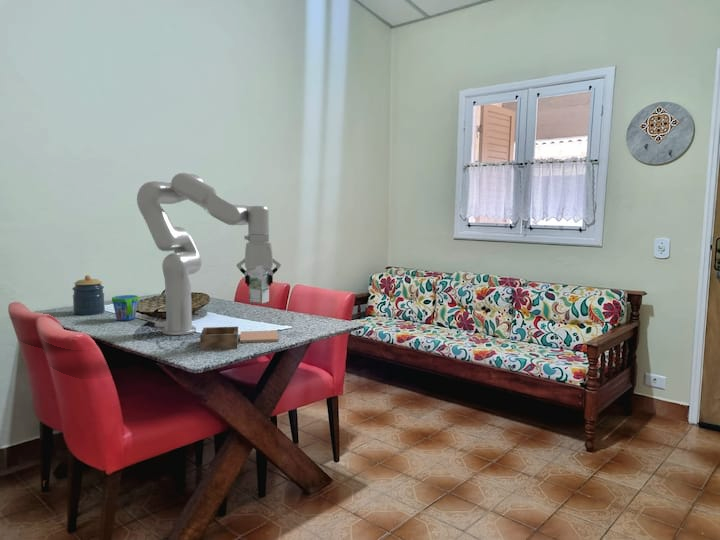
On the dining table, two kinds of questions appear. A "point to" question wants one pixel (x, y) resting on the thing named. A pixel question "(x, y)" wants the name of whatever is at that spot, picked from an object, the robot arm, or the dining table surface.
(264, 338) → the tile
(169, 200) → the robot arm
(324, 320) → the dining table surface
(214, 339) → the collar
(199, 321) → the dining table surface
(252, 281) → the syrup box
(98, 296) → the canister
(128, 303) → the snack cup
